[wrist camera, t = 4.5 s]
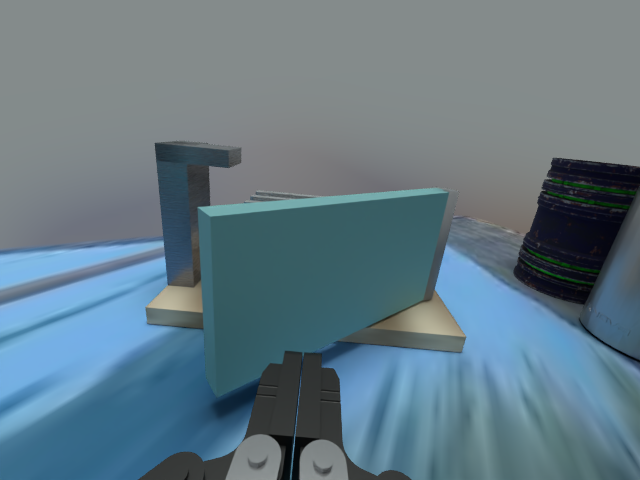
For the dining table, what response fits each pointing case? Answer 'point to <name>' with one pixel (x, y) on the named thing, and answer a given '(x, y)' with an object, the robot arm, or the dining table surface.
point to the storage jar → (575, 226)
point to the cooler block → (192, 201)
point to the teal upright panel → (312, 272)
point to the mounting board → (395, 330)
